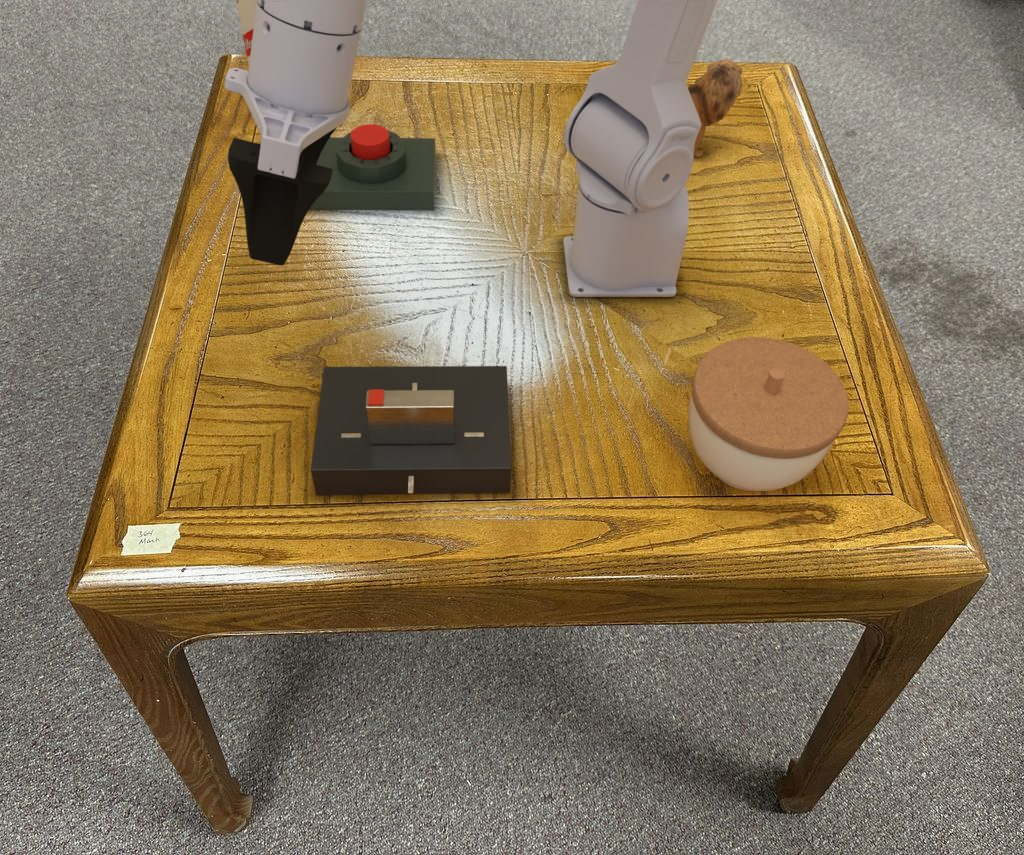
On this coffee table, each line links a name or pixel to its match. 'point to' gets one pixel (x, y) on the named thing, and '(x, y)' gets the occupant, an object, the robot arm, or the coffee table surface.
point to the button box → (379, 176)
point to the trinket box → (764, 412)
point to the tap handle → (411, 416)
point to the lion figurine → (715, 95)
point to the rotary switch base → (413, 467)
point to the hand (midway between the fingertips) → (276, 229)
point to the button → (370, 142)
